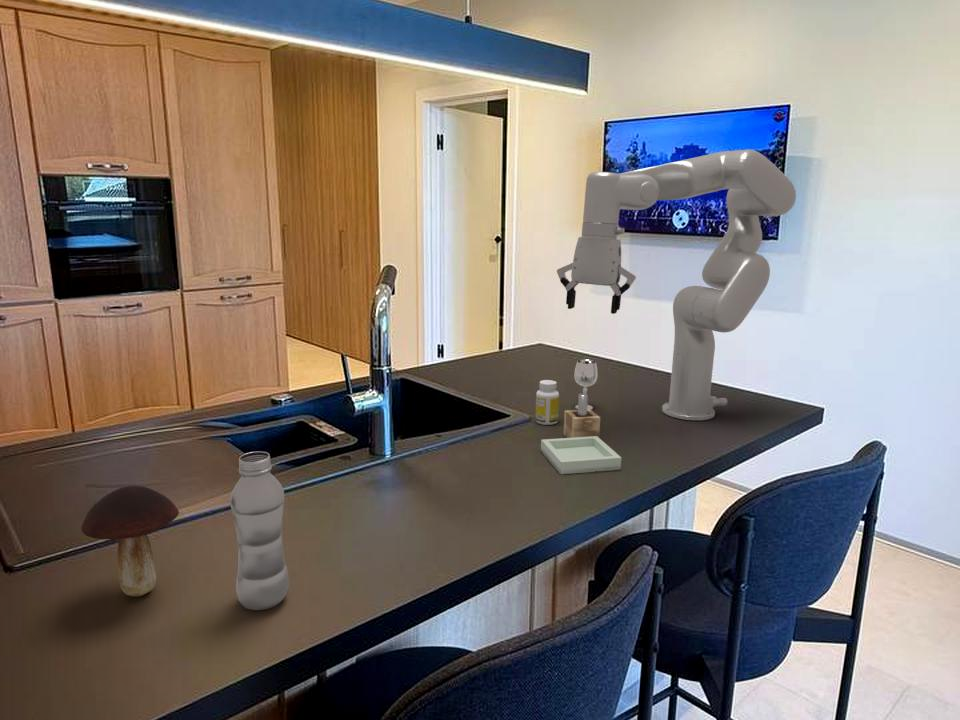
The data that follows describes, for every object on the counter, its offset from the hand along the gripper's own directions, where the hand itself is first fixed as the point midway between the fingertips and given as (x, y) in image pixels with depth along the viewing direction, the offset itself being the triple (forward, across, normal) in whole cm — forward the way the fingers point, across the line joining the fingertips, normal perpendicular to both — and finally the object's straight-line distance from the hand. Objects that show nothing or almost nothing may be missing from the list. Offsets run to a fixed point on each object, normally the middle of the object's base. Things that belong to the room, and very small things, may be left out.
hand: (592, 310), depth 147 cm
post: (+28, -2, +6) cm, 28 cm away
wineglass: (+27, +4, -17) cm, 32 cm away
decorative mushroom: (+32, +36, +88) cm, 101 cm away
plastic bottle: (+31, +20, +83) cm, 91 cm away
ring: (+28, -2, +6) cm, 28 cm away
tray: (+28, -4, +18) cm, 34 cm away
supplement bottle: (+28, +9, -2) cm, 29 cm away
